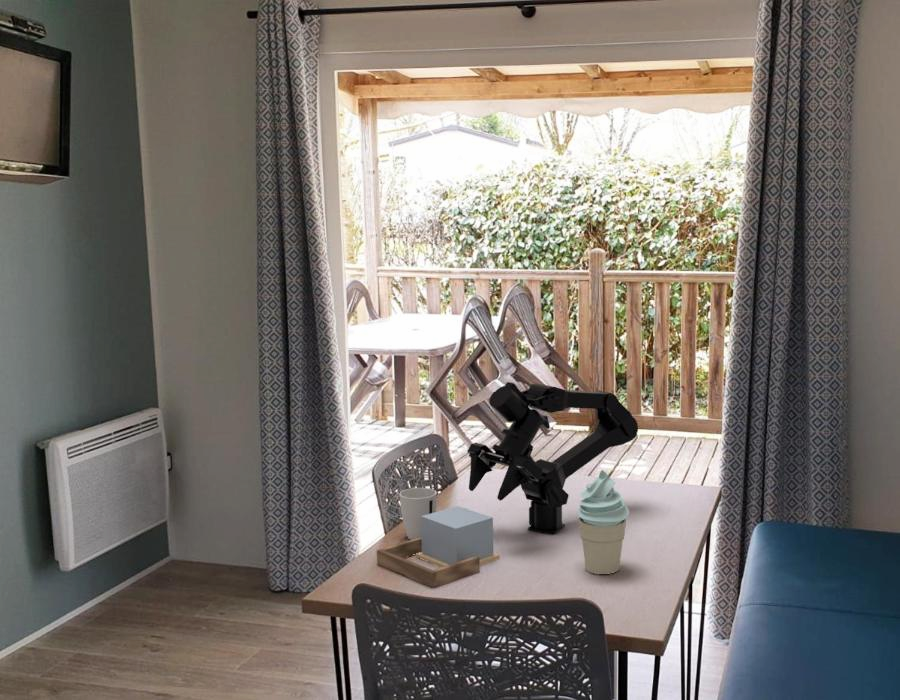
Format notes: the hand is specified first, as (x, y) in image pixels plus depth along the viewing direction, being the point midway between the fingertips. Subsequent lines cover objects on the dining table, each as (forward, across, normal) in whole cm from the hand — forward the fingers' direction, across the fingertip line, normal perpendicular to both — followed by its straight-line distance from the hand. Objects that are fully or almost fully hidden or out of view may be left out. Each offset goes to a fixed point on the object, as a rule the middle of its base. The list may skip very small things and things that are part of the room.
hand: (484, 494), depth 211 cm
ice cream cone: (+2, -26, -14) cm, 30 cm away
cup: (+13, +14, -3) cm, 20 cm away
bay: (+20, -2, +5) cm, 20 cm away
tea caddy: (+14, -1, -2) cm, 15 cm away
